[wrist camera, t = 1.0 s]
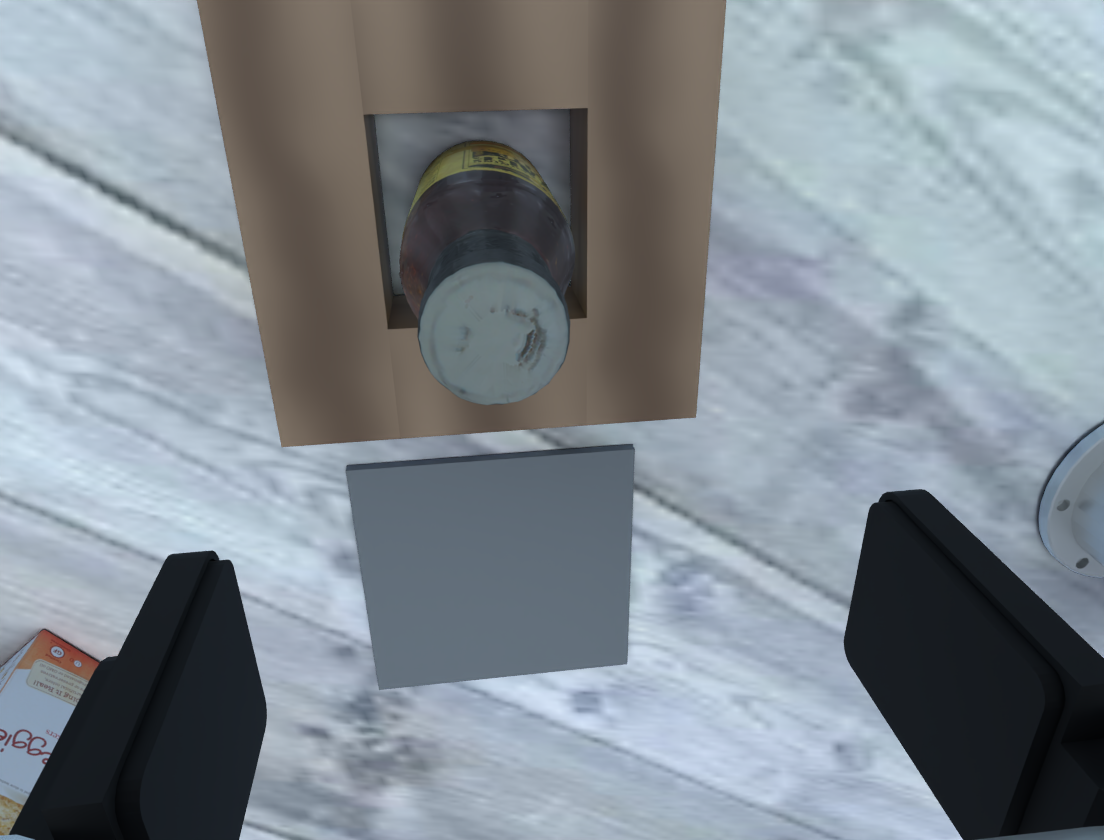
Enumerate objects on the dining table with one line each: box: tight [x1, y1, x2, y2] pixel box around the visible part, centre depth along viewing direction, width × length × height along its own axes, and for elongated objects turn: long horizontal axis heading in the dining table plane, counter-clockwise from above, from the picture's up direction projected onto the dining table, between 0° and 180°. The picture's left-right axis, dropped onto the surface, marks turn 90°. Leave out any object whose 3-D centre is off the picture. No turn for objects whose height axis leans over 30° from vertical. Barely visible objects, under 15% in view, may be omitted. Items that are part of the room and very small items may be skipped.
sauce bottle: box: [399, 140, 575, 405], centre depth 30 cm, size 7×6×20 cm
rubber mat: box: [346, 444, 635, 690], centre depth 48 cm, size 16×16×1 cm
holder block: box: [197, 0, 726, 447], centre depth 36 cm, size 20×20×5 cm
